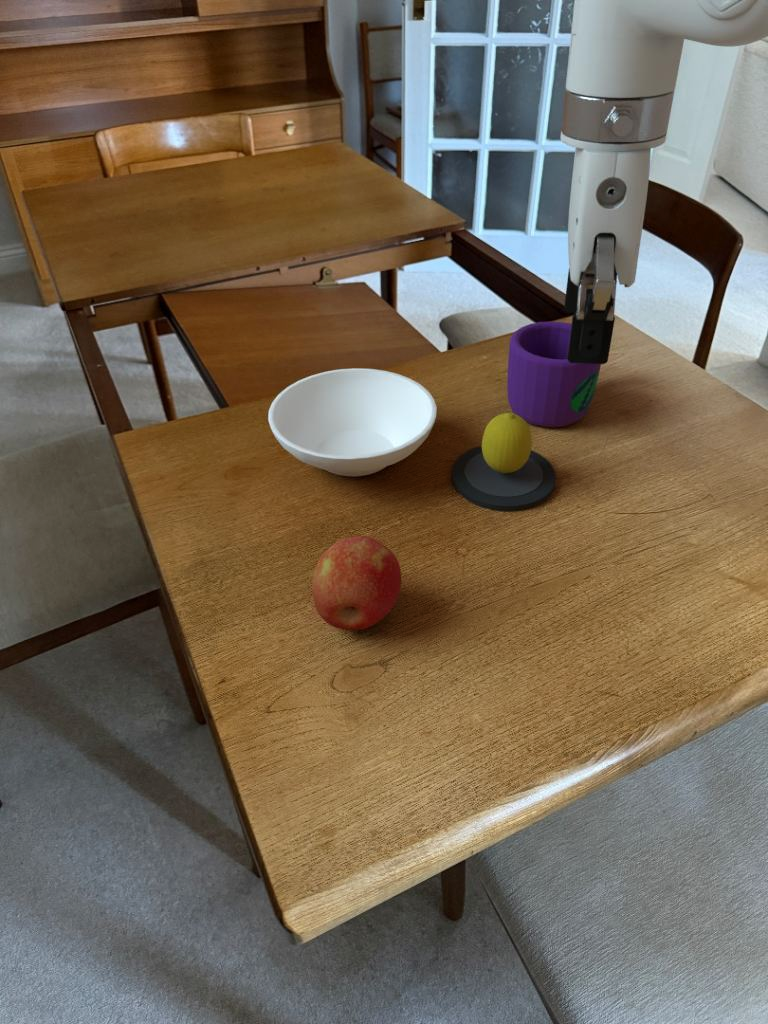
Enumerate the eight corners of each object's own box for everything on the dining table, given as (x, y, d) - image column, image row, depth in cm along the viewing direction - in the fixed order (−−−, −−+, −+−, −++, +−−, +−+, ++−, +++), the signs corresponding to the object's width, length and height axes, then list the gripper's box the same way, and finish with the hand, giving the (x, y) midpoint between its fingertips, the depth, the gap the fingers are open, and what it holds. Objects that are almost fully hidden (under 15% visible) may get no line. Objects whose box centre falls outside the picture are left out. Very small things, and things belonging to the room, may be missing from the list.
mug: (555, 444, 91) (566, 372, 85) (485, 409, 98) (491, 340, 91) (634, 393, 100) (649, 324, 94) (565, 364, 107) (575, 298, 100)
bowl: (464, 442, 92) (467, 394, 88) (377, 530, 80) (375, 479, 75) (337, 399, 101) (334, 354, 96) (241, 472, 88) (232, 424, 84)
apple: (411, 594, 72) (411, 533, 67) (380, 658, 66) (378, 596, 61) (336, 574, 75) (331, 514, 70) (300, 634, 69) (291, 573, 64)
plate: (562, 458, 89) (563, 452, 89) (546, 520, 80) (547, 513, 80) (464, 442, 92) (465, 436, 92) (439, 500, 84) (440, 493, 83)
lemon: (490, 491, 83) (495, 431, 78) (472, 463, 87) (476, 404, 82) (535, 482, 84) (544, 422, 79) (516, 455, 88) (523, 397, 83)
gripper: (687, 147, 47) (639, 387, 57) (654, 93, 60) (620, 296, 71) (565, 147, 48) (540, 382, 59) (559, 94, 61) (540, 294, 72)
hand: (584, 335), depth 65 cm, fingers open, 9 cm apart
